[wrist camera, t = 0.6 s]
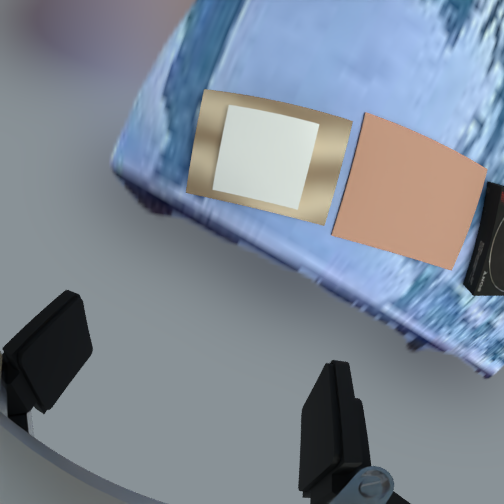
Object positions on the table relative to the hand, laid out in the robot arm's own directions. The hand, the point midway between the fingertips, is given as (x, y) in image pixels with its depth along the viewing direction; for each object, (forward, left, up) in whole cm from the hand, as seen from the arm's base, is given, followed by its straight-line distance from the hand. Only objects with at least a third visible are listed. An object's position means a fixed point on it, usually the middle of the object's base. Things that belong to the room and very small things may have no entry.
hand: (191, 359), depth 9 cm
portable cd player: (-5, +40, -28) cm, 50 cm away
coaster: (-5, -1, -24) cm, 24 cm away
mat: (-5, +19, -28) cm, 34 cm away
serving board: (-5, -1, -28) cm, 28 cm away
